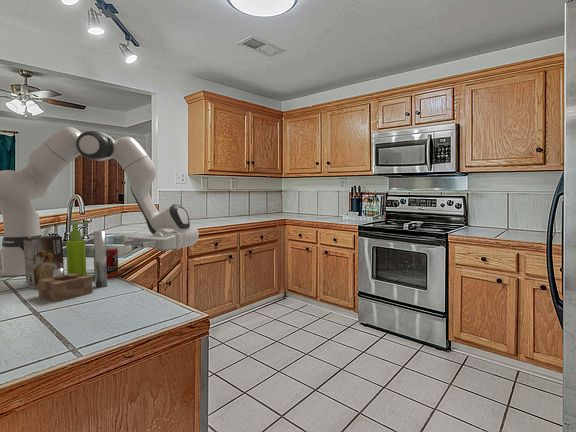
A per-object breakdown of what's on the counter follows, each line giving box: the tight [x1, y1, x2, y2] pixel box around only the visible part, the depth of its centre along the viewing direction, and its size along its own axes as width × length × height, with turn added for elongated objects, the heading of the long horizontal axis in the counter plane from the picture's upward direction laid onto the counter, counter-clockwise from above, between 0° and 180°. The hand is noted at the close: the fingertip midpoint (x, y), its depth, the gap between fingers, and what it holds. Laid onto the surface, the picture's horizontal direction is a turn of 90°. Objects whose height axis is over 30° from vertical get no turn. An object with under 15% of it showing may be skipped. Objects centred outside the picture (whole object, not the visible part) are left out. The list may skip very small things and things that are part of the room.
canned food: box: [93, 245, 119, 280], centre depth 126 cm, size 8×8×11 cm
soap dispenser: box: [65, 221, 88, 276], centre depth 126 cm, size 6×7×20 cm
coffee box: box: [23, 235, 65, 290], centre depth 114 cm, size 9×6×16 cm
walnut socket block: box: [38, 273, 93, 302], centre depth 103 cm, size 10×10×5 cm
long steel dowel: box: [93, 230, 108, 288], centre depth 112 cm, size 3×3×18 cm
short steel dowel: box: [52, 267, 65, 277], centre depth 113 cm, size 3×3×6 cm
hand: (133, 244), depth 123 cm, fingers open, 8 cm apart
